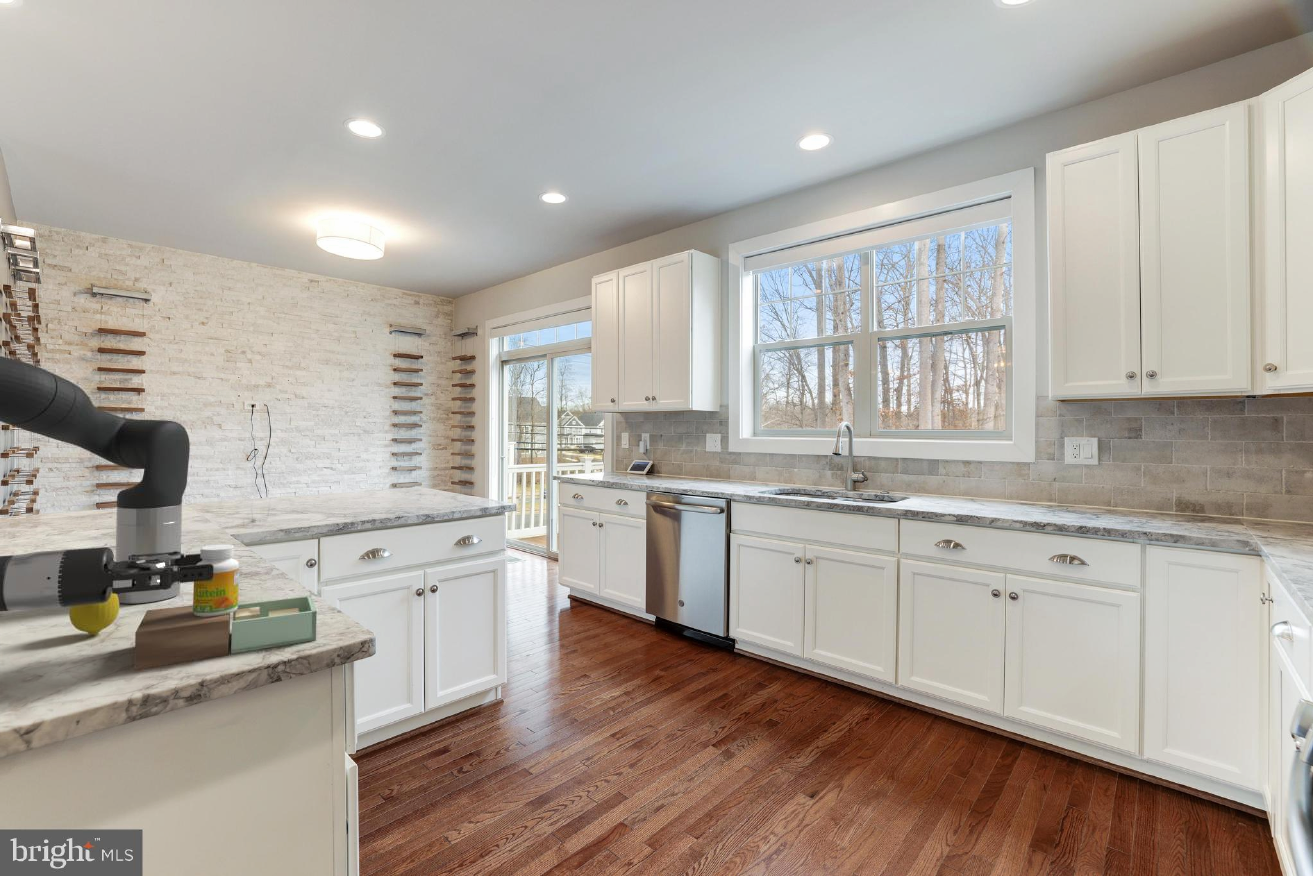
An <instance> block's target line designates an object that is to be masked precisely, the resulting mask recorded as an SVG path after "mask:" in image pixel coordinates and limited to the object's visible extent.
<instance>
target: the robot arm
mask: <svg viewBox="0 0 1313 876" xmlns="http://www.w3.org/2000/svg"><path fill="white" fill-rule="evenodd" d="M0 422H1V423H3V424H7V425H9V426H12V427H15V428H18V429H21V430H23V431H27V432H30V433H34V434H36V435H40V436H44V437H46V438H49V439H53V440H56V441H58V442H61V443H67V444H70V445H74V446H76V447H78V448H81V449H83V450H85V451H87V452H89V453H91V454H94V455H96V456H98V457H100V458H102V459H104V460H105V461H108V462H110V463H112V464H114V465H117V466H118V467H119V466H120V467H123V468H126V469H127V468H128V469H134V470H135V469H136V470H137V469H140V470H143V475H142V479H141V480H140V482H138V483H137V484H136V485H134V486H130V487H128V488H125V489H122V490H120V491H119V492H118V493H117V496H116V527H115V528H116V530H115V531H116V534H115V535H116V536H115V555H114V552H113V550H112V549H111V548H110V547H107V546H103V547H102V546H101V547H89V548H75V549H74V548H73V549H72V548H71V549H58V550H57V549H56V550H41V551H34V552H33V551H32V552H28V553H21V554H14V555H13V554H12V555H0V613H2V612H12V611H13V612H14V611H40V610H48V609H59V608H70V606H79V605H89V604H98V603H105V602H106V601H108V600H109V598H110V596H111V593H113V594H117V596H118V599H119V604H127V605H128V604H131V605H132V604H143V603H151V602H158V601H163V600H167V599H171V598H173V597H176V596H179V594H180V593H181V584H183V583H194V582H196V581H206V580H211V579H212V578H213V572H214V566H213V565H212V564H201V565H196V564H198V563H199V562H201V561H202V558H200V557H201V556H200V553H191V554H185V553H182V516H183V515H182V512H183V510H182V509H183V508H182V507H183V506H182V505H183V504H182V503H183V496H184V495H185V491H186V488H187V485H188V473H189V463H190V452H191V450H190V449H191V447H190V446H191V444H190V438H189V434H188V431H187V430H186V428H185V427H184V426H183V425H182V424H181V423H180V422H177V421H174V420H162V419H136V418H126V417H122V416H120V415H119V416H118V415H116V414H113V413H111V412H108V411H105V410H103V409H100V408H98V407H96V406H95V405H94V404H93V402H92V399H91V398H90V396H89V395H88V393H86V391H85V390H83V388H81V387H80V386H78V385H77V384H75V383H74V382H72V381H70V380H68V379H66V378H65V377H62V376H60V375H57V374H55V373H53V372H51V371H48V370H47V369H44V368H43V367H39V366H38V365H34V364H31V363H27V362H24V361H21V360H17V359H13V358H9V357H5V356H2V355H0ZM114 556H115V560H114Z"/></svg>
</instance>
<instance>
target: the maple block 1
mask: <svg viewBox="0 0 1313 876" xmlns="http://www.w3.org/2000/svg"><path fill="white" fill-rule="evenodd" d="M253 618H260V609H259V607H254V608H246V609H237V610H236V618H235V621H238V620H246V619H253Z"/></svg>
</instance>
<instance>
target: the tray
mask: <svg viewBox="0 0 1313 876" xmlns="http://www.w3.org/2000/svg"><path fill="white" fill-rule="evenodd" d="M315 605H316V604H315V603H314V599H313V597H312V595H302V596H295V597H285V598H279V599H270V600H260V601H259V600H258V601H251V602H244V603H242V602H241V603H238V608H237V609H246V608H254V607H259V609H260V618H253V619H246V620H238V621H235V618H236V610H237V609H236V610H235V611H234V612H232V620H231V643H230V645H231V647H230V649H231V652H230V654H237V653H243V652H244V653H245V652H249V651H256V650H261V649H262V650H263V649H268V648H275V647H280V646H281V647H282V646H288V645H295V644H302V643H307V642H312V641H317V609H316V606H315ZM294 608H298V610H299V613H291V614H284V615H276V616H269V617H268V612H270V611H278V610H286V609H294Z"/></svg>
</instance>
